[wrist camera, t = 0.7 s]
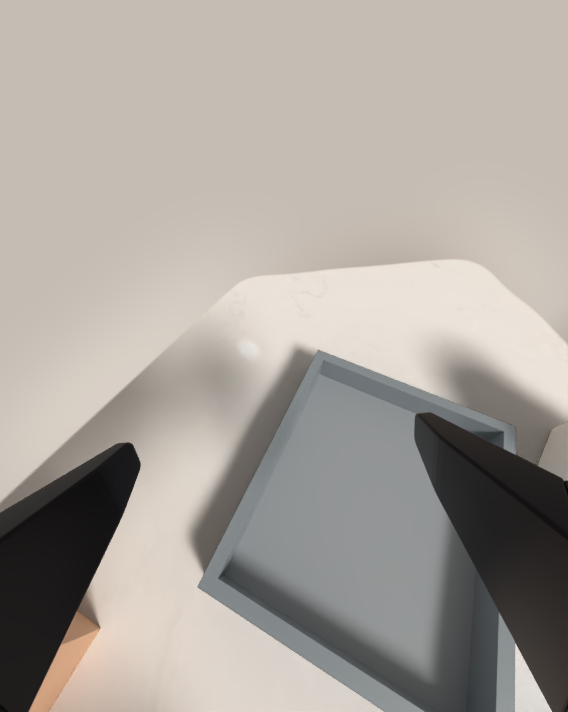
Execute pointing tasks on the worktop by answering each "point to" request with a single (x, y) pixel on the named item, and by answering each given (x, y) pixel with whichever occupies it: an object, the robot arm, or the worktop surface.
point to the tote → (366, 550)
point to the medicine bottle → (556, 452)
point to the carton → (65, 661)
